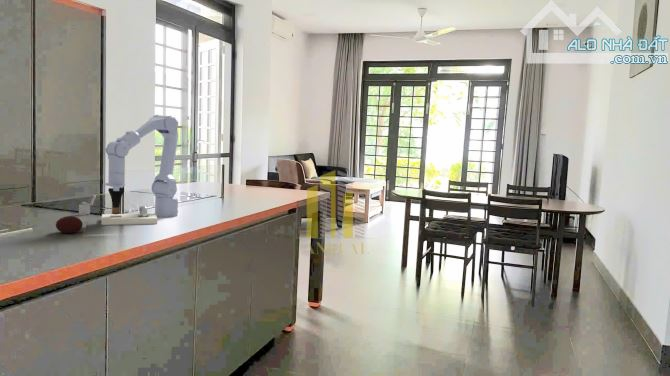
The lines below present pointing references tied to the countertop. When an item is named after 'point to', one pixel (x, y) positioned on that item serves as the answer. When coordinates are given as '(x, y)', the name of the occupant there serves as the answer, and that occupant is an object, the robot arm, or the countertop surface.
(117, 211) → the walnut pin
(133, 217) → the hole block
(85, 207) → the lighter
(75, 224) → the potato
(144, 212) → the steel pin
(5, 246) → the countertop surface
